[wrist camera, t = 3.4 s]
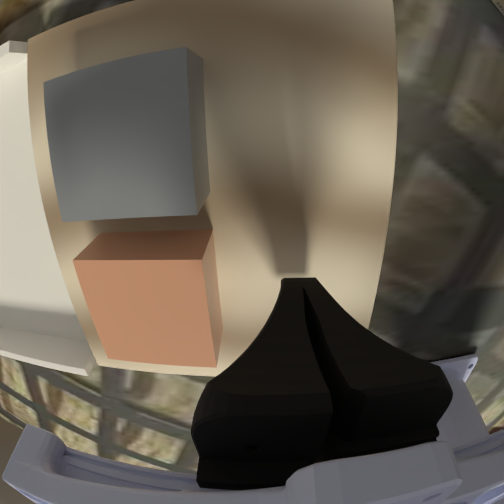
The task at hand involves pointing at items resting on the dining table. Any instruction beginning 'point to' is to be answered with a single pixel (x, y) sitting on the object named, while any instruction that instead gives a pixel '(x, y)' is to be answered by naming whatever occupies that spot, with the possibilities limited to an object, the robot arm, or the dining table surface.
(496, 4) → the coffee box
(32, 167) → the box
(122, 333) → the tile terracotta
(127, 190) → the tile slate
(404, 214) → the dining table surface
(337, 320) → the robot arm
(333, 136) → the deck
